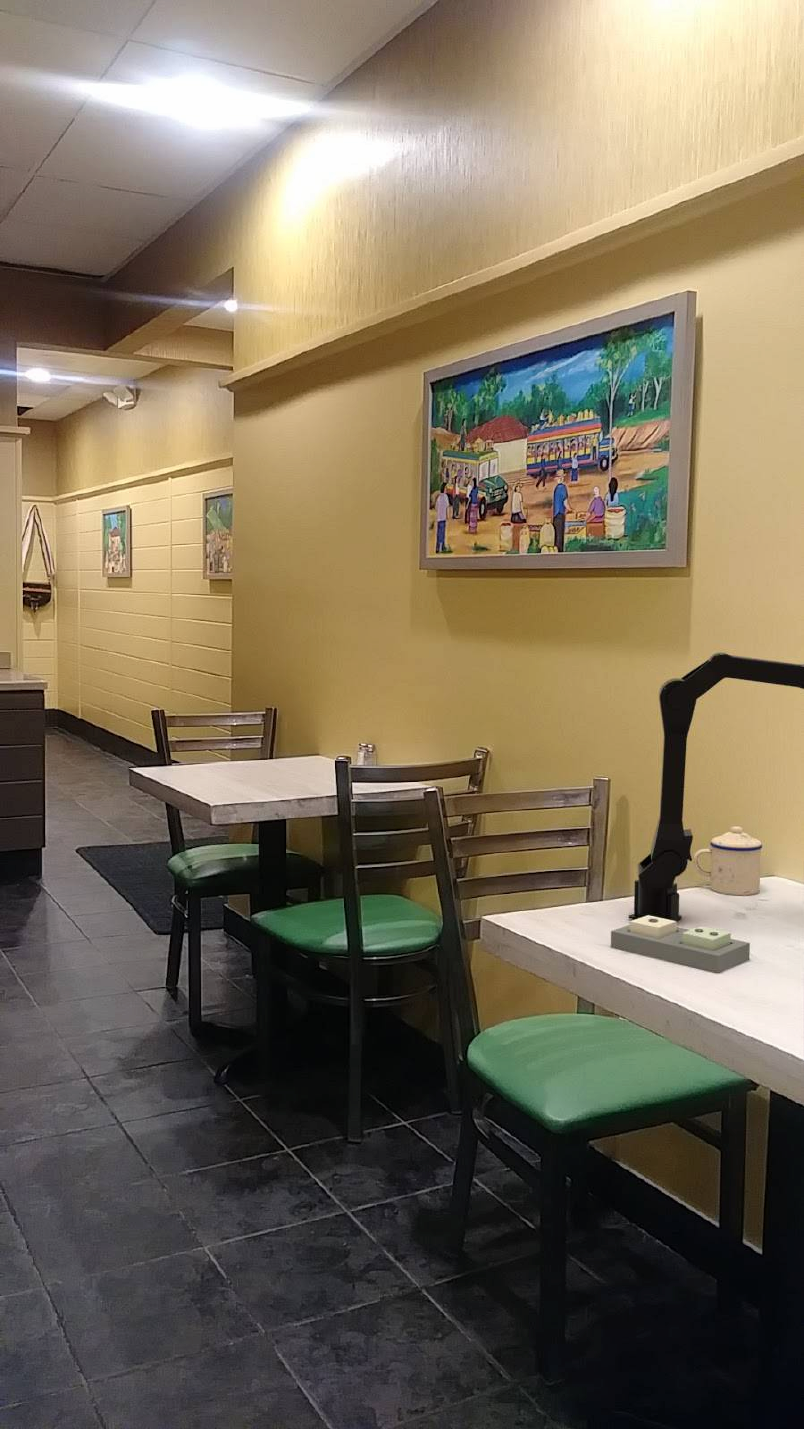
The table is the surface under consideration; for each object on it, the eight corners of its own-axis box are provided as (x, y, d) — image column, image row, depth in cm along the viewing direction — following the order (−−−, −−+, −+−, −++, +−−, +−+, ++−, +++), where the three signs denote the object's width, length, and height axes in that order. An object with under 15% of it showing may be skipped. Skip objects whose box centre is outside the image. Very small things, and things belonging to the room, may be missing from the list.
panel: (610, 947, 176) (611, 931, 175) (643, 935, 182) (644, 919, 182) (717, 973, 163) (718, 955, 163) (749, 959, 169) (749, 942, 169)
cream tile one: (629, 934, 176) (629, 920, 175) (647, 927, 179) (648, 913, 179) (658, 940, 172) (658, 926, 172) (676, 934, 176) (676, 919, 175)
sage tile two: (681, 946, 169) (682, 931, 169) (699, 939, 173) (700, 925, 173) (712, 953, 166) (713, 938, 166) (730, 946, 169) (730, 931, 169)
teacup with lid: (760, 886, 215) (762, 824, 214) (761, 897, 206) (763, 833, 205) (693, 882, 218) (694, 820, 217) (692, 893, 209) (693, 829, 208)
